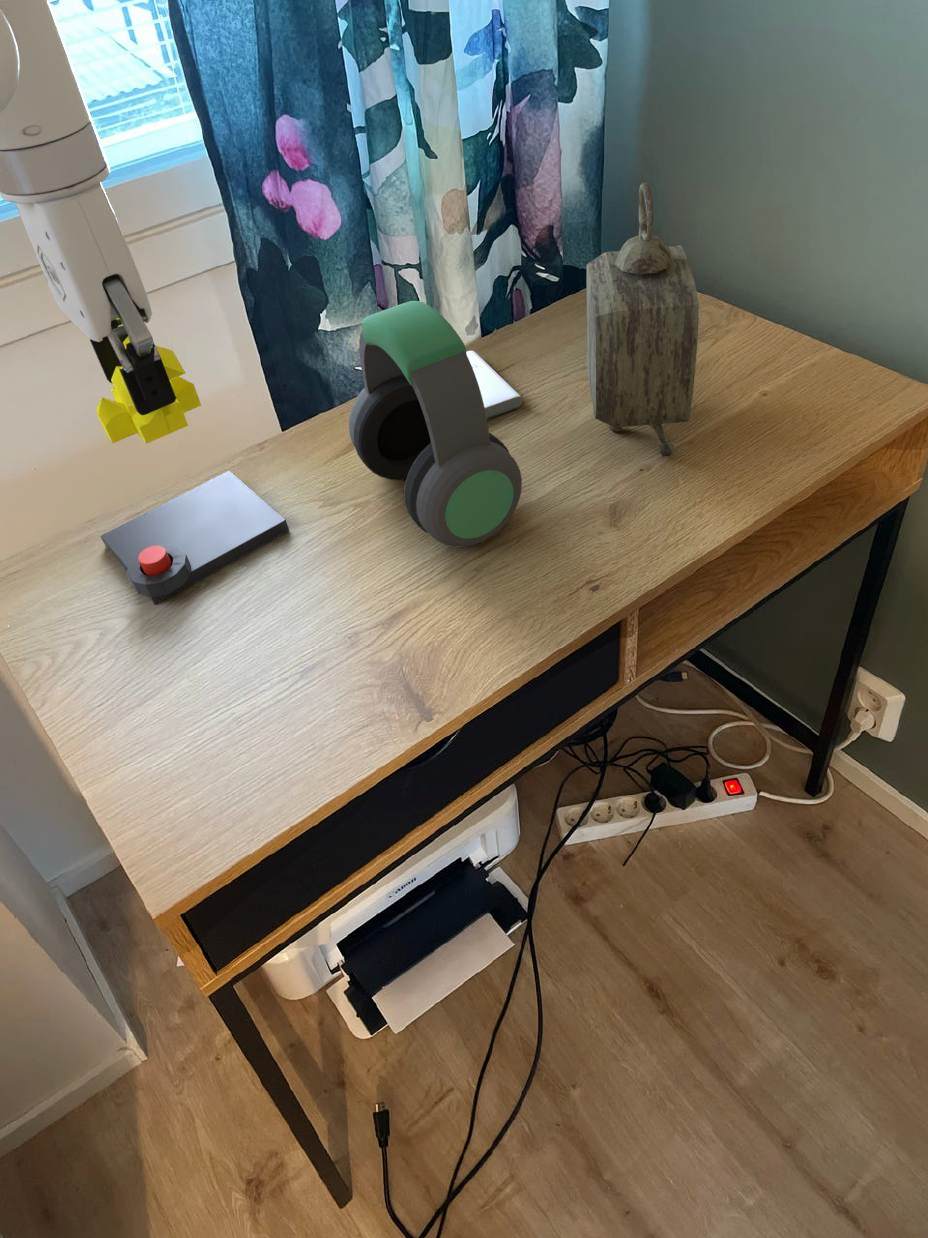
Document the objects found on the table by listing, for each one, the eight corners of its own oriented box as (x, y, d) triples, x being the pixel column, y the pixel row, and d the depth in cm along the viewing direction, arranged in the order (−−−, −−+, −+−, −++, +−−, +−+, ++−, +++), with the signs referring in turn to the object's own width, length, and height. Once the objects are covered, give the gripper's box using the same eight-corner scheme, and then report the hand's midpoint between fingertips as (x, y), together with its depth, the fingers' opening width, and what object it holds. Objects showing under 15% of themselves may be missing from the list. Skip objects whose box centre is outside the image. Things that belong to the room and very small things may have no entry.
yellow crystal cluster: (98, 424, 76) (59, 341, 71) (184, 388, 79) (153, 305, 74) (121, 454, 73) (83, 368, 67) (211, 415, 75) (181, 330, 70)
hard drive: (456, 430, 100) (413, 380, 108) (522, 407, 101) (475, 359, 110) (455, 418, 98) (411, 368, 107) (521, 394, 100) (473, 347, 108)
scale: (153, 615, 84) (141, 593, 81) (98, 549, 91) (86, 527, 89) (295, 536, 90) (288, 512, 87) (233, 480, 97) (224, 457, 95)
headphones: (352, 474, 96) (309, 296, 82) (441, 437, 99) (415, 260, 85) (434, 573, 84) (401, 385, 69) (534, 528, 87) (521, 338, 72)
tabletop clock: (686, 465, 91) (709, 215, 73) (596, 472, 92) (597, 226, 74) (667, 388, 101) (682, 152, 83) (586, 394, 102) (584, 162, 84)
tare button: (151, 580, 83) (145, 568, 82) (139, 566, 85) (133, 554, 84) (176, 566, 84) (170, 554, 83) (164, 553, 86) (158, 541, 85)
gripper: (-40, 149, 65) (64, 370, 78) (31, 210, 54) (138, 454, 67) (59, 119, 68) (144, 338, 80) (145, 172, 57) (228, 414, 70)
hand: (141, 389), depth 74 cm, fingers closed on yellow crystal cluster, 5 cm apart
